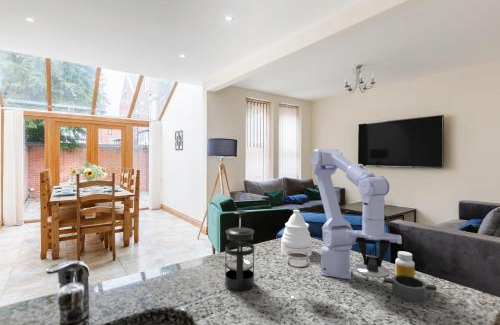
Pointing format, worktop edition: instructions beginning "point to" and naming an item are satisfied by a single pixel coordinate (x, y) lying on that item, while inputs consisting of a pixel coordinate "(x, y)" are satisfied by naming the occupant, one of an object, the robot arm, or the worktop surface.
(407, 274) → the supplement bottle
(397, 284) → the pot
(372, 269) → the lid
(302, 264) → the wineglass
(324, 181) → the robot arm
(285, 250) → the honey pot
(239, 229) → the french press
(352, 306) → the worktop surface
